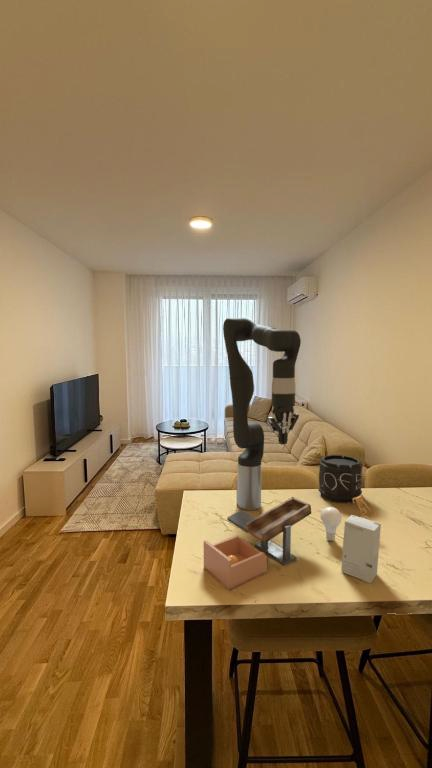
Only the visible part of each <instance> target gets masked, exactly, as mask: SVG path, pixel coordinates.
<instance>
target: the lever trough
mask: <svg viewBox="0 0 432 768" xmlns="http://www.w3.org/2000/svg"><path fill="white" fill-rule="evenodd" d="M311 505H312V504H310V503H308V502H305V501H302V500H300V499H298V498H296V497H294V496H291V497H289V498H288V499H286V500H284V501H283V502H281V503H279V504H278V505H275V506H274V507H272V508H270V509H269V510H267V511H265V512H264V513H261V514H262V515H261V514H260V515H258V516H257V517H255V516H253V515H251V514H250V513H248V512H246V511H245V510H244V509H239V510H238V511H237V512H234V513H233V514H231V515H230V516H228V517H227V518H226V519H227V521H228V522H230V523H231V524H233V525H235V527H237V528H239V529H241V530H242V531H244V532H246V533H247V534H249V535H250V536H252V537H254V538H255V539H257V540H259V541H262V542H263V543H266V542H268V541H269V540H270V541H272V539H274V538H275V537H277V536H279V535H280V534H283V526H284V525H287V524H289V525H290V526H291V527H293V526H294V525H296V524H297V523H299V522H301V521H302V520H303V519H305V518H307V517H308V516H310V515H311V514H312V507H311Z"/></svg>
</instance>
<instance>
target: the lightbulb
mask: <svg viewBox="0 0 432 768" xmlns="http://www.w3.org/2000/svg"><path fill="white" fill-rule="evenodd" d="M320 520H321V521H322V523H323V525H324V528H325V531H326V534H325V536H326V537H325V538H326V540H328V541H330V542H332V541H335V539H336V532H337V528H338V527H339V526H340V524H341V523H342V514H341V512H340V510H338V508H336V507H333V506H326V507H324V508H323V509H322V511H321V513H320Z"/></svg>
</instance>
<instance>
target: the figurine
mask: <svg viewBox="0 0 432 768" xmlns="http://www.w3.org/2000/svg"><path fill="white" fill-rule="evenodd" d="M363 498H364V495H363V494H361V495H360V496H359V497H355V498H352V499H353V502H352V503H353V504H355V503H356V504H357V507H358V509H360V510H359V515H360V517H361V518H365V519H368V520H370V521H372V520H371V519H370V518H369V517H368V516H367V515H366V513H367V511H368V510H369V513H371V514H372V510H371V508H370V507H369V506H368V505H367V503H366V502H364V500H363ZM354 499H356V502H354ZM365 507H366V508H365ZM367 509H368V510H367ZM363 511H364V512H363Z"/></svg>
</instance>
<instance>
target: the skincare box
mask: <svg viewBox="0 0 432 768" xmlns="http://www.w3.org/2000/svg"><path fill="white" fill-rule="evenodd" d="M370 520H371V519H370ZM370 520H368V519H365V518H361V516H357V515H354V514H351V515H350V516H348V518H347V519H346V520H344V528H343V529H344V530H343V531H344V532H343V541H342V542H343V543H342V544H343V545H342V555H341V557H342V558H341V567H340V569H341V573H344V574H347V575H349V576H352V577H354V578H357V579H359V580H362V581H364V582H366V583H367V584H371V583H372V582H373V581H374V579H375V578H376V576H377V575H378V567H379V554H380V553H379V551H380V539H381V529H382V524H381V523H379V522H376V521H374V520H371V521H370Z"/></svg>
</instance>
